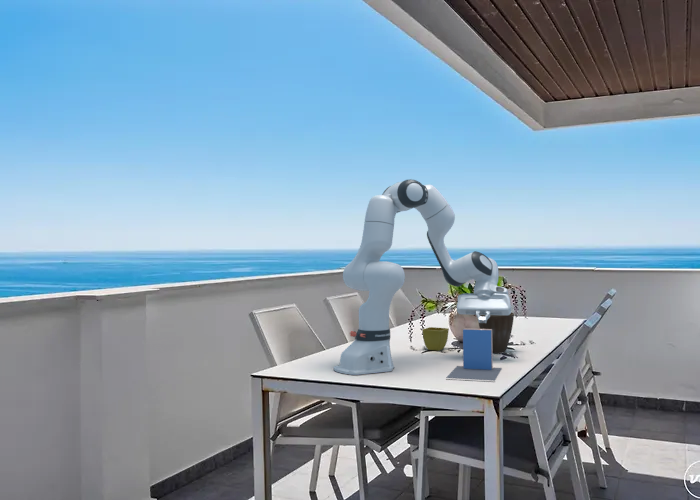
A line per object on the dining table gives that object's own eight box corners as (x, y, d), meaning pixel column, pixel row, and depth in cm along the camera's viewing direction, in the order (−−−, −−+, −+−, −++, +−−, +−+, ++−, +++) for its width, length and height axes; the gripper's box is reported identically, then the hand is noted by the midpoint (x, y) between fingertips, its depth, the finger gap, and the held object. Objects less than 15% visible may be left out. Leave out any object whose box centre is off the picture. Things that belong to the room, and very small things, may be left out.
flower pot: (449, 349, 278) (449, 328, 278) (441, 352, 270) (441, 330, 270) (430, 347, 282) (430, 327, 282) (422, 350, 275) (421, 329, 274)
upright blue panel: (491, 370, 227) (491, 330, 227) (463, 368, 230) (462, 329, 230) (492, 368, 229) (492, 329, 229) (464, 367, 233) (463, 328, 233)
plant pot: (497, 356, 258) (497, 316, 258) (470, 351, 270) (469, 313, 270) (522, 352, 267) (521, 313, 267) (494, 347, 279) (493, 310, 279)
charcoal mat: (495, 382, 210) (495, 380, 210) (445, 379, 215) (445, 377, 215) (502, 369, 231) (502, 367, 231) (457, 367, 236) (457, 365, 236)
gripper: (457, 288, 252) (453, 316, 243) (511, 288, 246) (509, 317, 237) (459, 298, 257) (455, 326, 248) (512, 299, 250) (510, 328, 241)
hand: (482, 322), depth 242 cm, fingers closed
